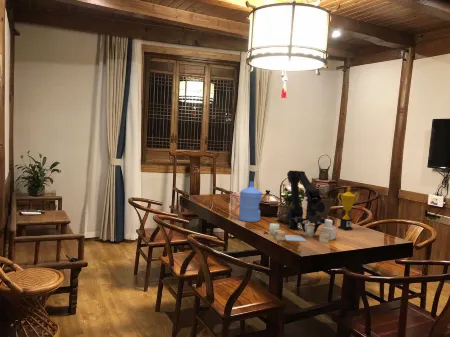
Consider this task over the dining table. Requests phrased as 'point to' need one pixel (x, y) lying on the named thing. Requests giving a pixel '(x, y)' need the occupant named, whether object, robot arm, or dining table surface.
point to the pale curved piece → (273, 227)
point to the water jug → (250, 204)
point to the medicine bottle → (329, 228)
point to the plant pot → (327, 203)
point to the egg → (309, 230)
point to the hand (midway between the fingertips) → (309, 233)
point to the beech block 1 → (279, 235)
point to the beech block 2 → (323, 237)
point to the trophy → (347, 209)
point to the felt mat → (294, 238)
